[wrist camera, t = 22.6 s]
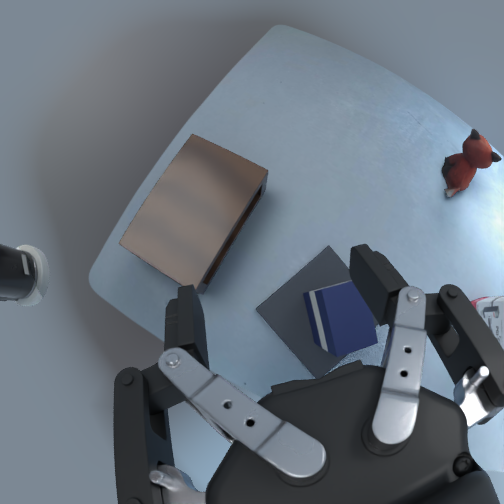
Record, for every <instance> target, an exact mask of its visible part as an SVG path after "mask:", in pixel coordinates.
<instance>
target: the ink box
mask: <svg viewBox="0 0 504 504" xmlns="http://www.w3.org/2000/svg"><path fill="white" fill-rule="evenodd" d="M471 303H472V305H473V306H474V307H475V309H476V310H477V311H478V313H479V314H480V316H481V317H482V318H483V320H484V321H485V323H486V324H487V325H488V327H489V328H490V330H491V331H492V333H493V334H494V336H495V337H496V339H497V340H498V342H499V343H500V345H501V346H502V348H503V349H504V296H494V297H483V298H479V299H476V300H474V301H471Z"/></svg>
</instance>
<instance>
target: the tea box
mask: <svg viewBox="0 0 504 504" xmlns="http://www.w3.org/2000/svg"><path fill="white" fill-rule="evenodd" d="M303 296H304V301H305V305H306V309H307V313H308V317H309V321H310V326H311V330H312V334H313V339H314V343H315V344H316V345H318V346H319V347H321V348H322V349H324V350H326V351H327V352H329V353H331V354H332V355H334V356H336V357H339V356H342V355H345V354H348V353H351V352H354V351H357V350H360V349H363V348H366V347H368V346H371V345H374V344H377V343H378V341H377V336H376V331H375V326H374V321H373V316H372V312H371V311H370V309H369V307H368V306H367V304H366V303H365V301H364V299H363V298H362V296H361V295H360V293H359V291H358V290H357V288H356V287H355V285H354V284H353V282H352V280H351V281H347V282H343V283H339V284H335V285H331V286H327V287H324V288H320V289H316V290H313V291H309V292H305V293H303Z"/></svg>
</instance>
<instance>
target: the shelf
mask: <svg viewBox="0 0 504 504" xmlns="http://www.w3.org/2000/svg"><path fill="white" fill-rule="evenodd" d="M267 175H268V170H267V169H265V168H263V167H261V166H259V165H257V164H255V163H253V162H251V161H249V160H247V159H245V158H243V157H241V156H239V155H237V154H235V153H233V152H231V151H229V150H227V149H224V148H222V147H220V146H218V145H216V144H214V143H212V142H210V141H207V140H205V139H203V138H201V137H199V136H197V135H194V134H192V135H191V136H190V138H189V139H188V140H187V141H186V143H185V144H184V145H183V147H182V148H181V149H180V151H179V152H178V154H177V155H176V156H175V158H174V159H173V160H172V162H171V163H170V165H169V166H168V167H167V169H166V170H165V172H164V173H163V175H162V176H161V177H160V179H159V180H158V182H157V183H156V185H155V186H154V188H153V189H152V191H151V192H150V194H149V195H148V197H147V198H146V200H145V201H144V203H143V204H142V206H141V208H140V209H139V211H138V212H137V214H136V215H135V217H134V219H133V220H132V222H131V223H130V225H129V227H128V228H127V230H126V232H125V233H124V235H123V237H122V238H121V240H120V242H119V244H120V245H121V246H123V247H124V248H126V249H127V250H129V251H130V252H132V253H133V254H135V255H136V256H138V257H139V258H141V259H142V260H144V261H145V262H147V263H148V264H150V265H151V266H153V267H154V268H156V269H157V270H159V271H160V272H162V273H163V274H165V275H167V276H168V277H170V278H171V279H173V280H174V281H176V282H178V283H179V284H181V285H182V286H187V285H191V284H193V285H194V287H195V290H196V292H197V293H199V294H204V292H205V290H206V289H207V287H208V285H209V283H210V282H211V280H212V278H213V277H214V275H215V273H216V272H217V270H218V268H219V266H220V265H221V263H222V261H223V260H224V258H225V256H226V255H227V253H228V251H229V250H230V248H231V246H232V245H233V243H234V241H235V240H236V238H237V236H238V235H239V233H240V231H241V230H242V228H243V226H244V225H245V223H246V221H247V220H248V218H249V216H250V215H251V213H252V212H253V210H254V208H255V207H256V205H257V203H258V202H259V200H260V198H261V197H262V195H263V193H264V192H265V190H266V183H267Z"/></svg>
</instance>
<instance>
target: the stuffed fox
mask: <svg viewBox="0 0 504 504" xmlns="http://www.w3.org/2000/svg"><path fill="white" fill-rule="evenodd" d="M500 160H501V157H500V156H499V155H498V154H497V153H495V152H493V151H492V148H491V146H490V145H489V143H488V142H487V140H486V139H485V138H484V137H483V136H481V135H480V134H479V133H478V132H477V131H476V130H475V129H472V131H471V134H470V136H468V138H467V139H466V140H465V141H464V143H463V153H459V154H454V155H451V156H449V157H447V158H446V157H445V163H444V166H443V167H442V173H443V176H444V178H445V180H446V183H447V185H448V189H444V190H445V192H446V195H447V196H448V197H452V196H453V195H455V193H456V192H457V191H458V192H459V191H463V190H465V189H466V188H467V187H468V186H469V183H470V182H471V180H472V178H473V177H474V175H475V173H476V170H477V168H481V169H484V168H488V167H490V165H491V164H492V162H498V161H500Z"/></svg>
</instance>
